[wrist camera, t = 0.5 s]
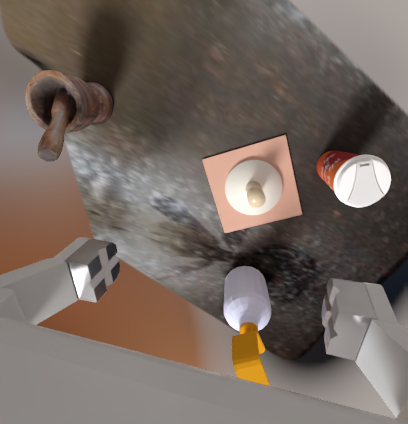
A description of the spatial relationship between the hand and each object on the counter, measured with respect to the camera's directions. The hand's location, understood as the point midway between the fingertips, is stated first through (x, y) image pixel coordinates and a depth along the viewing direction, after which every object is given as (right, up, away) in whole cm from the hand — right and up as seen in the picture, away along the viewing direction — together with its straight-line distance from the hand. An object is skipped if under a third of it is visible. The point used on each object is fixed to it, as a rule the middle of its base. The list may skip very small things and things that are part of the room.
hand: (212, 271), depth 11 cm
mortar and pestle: (-20, +21, +42) cm, 51 cm away
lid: (+9, +7, +44) cm, 45 cm away
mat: (+9, +7, +44) cm, 46 cm away
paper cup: (+24, +11, +42) cm, 49 cm away
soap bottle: (+9, -14, +52) cm, 55 cm away
